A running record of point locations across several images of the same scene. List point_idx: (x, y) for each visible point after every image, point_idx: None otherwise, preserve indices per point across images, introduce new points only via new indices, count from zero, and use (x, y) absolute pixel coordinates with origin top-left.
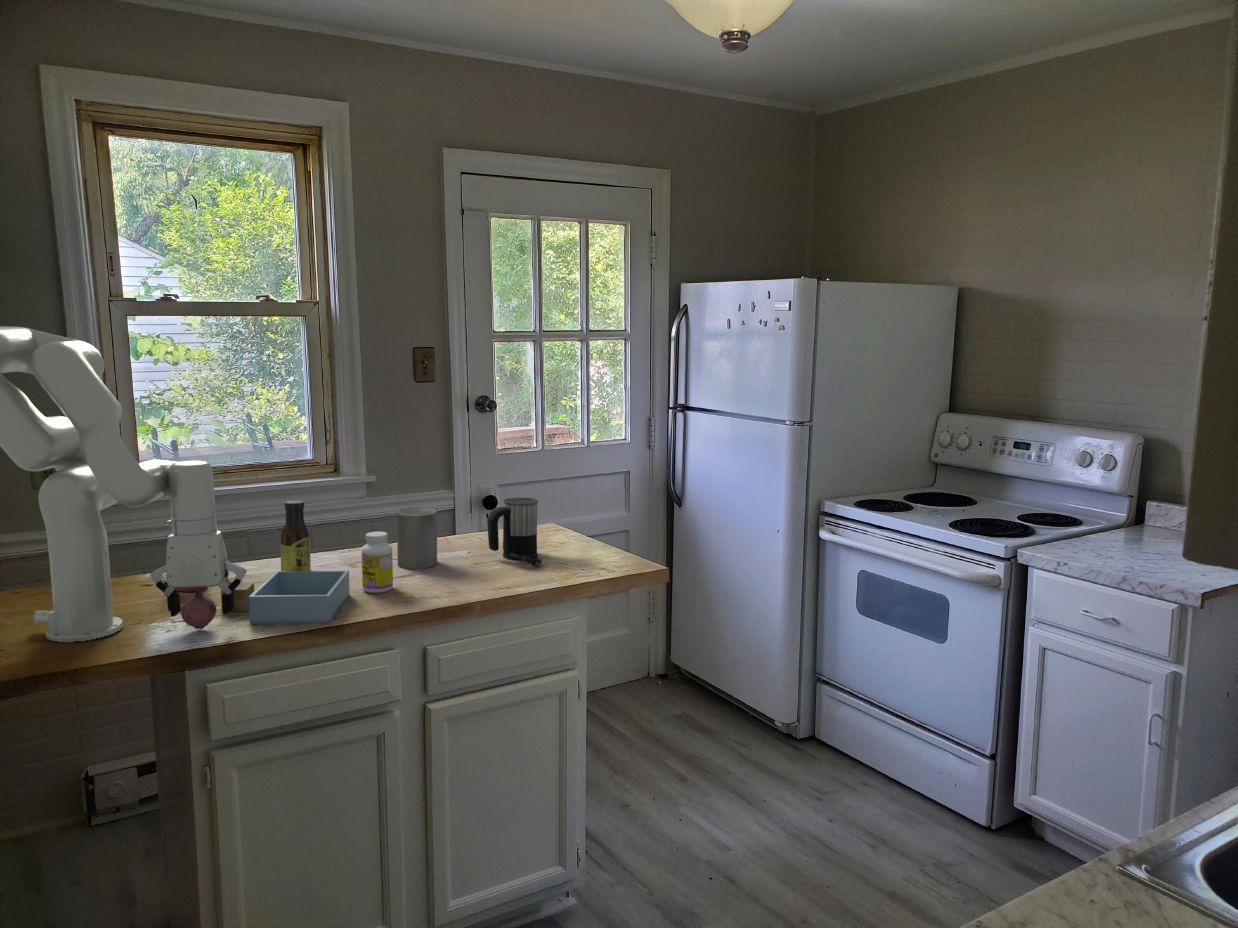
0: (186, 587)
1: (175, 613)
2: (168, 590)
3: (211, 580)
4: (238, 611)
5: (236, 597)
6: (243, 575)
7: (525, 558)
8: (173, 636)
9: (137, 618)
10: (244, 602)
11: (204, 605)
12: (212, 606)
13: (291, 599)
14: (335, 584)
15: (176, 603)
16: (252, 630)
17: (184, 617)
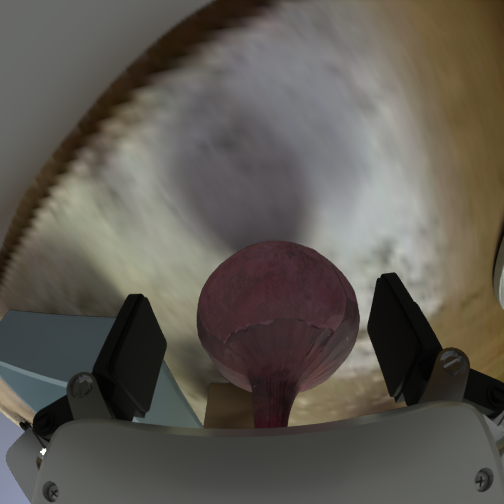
0: (334, 421)
1: (379, 288)
2: (452, 378)
3: (89, 460)
4: (231, 386)
5: (232, 420)
6: (15, 442)
7: (22, 427)
8: (350, 198)
9: (464, 329)
10: (213, 407)
11: (220, 323)
12: (200, 335)
13: (25, 361)
14: (31, 407)
15: (389, 336)
16: (99, 269)
17: (325, 261)
